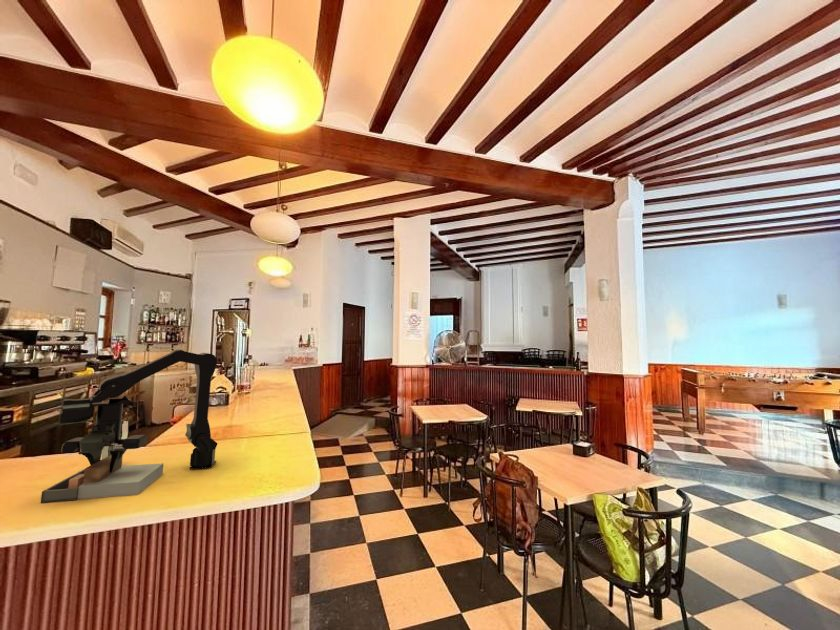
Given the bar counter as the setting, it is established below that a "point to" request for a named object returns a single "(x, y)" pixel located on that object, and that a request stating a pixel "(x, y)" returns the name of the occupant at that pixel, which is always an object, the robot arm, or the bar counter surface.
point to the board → (122, 482)
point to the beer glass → (107, 449)
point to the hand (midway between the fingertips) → (103, 472)
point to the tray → (61, 491)
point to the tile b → (76, 481)
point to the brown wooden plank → (100, 470)
